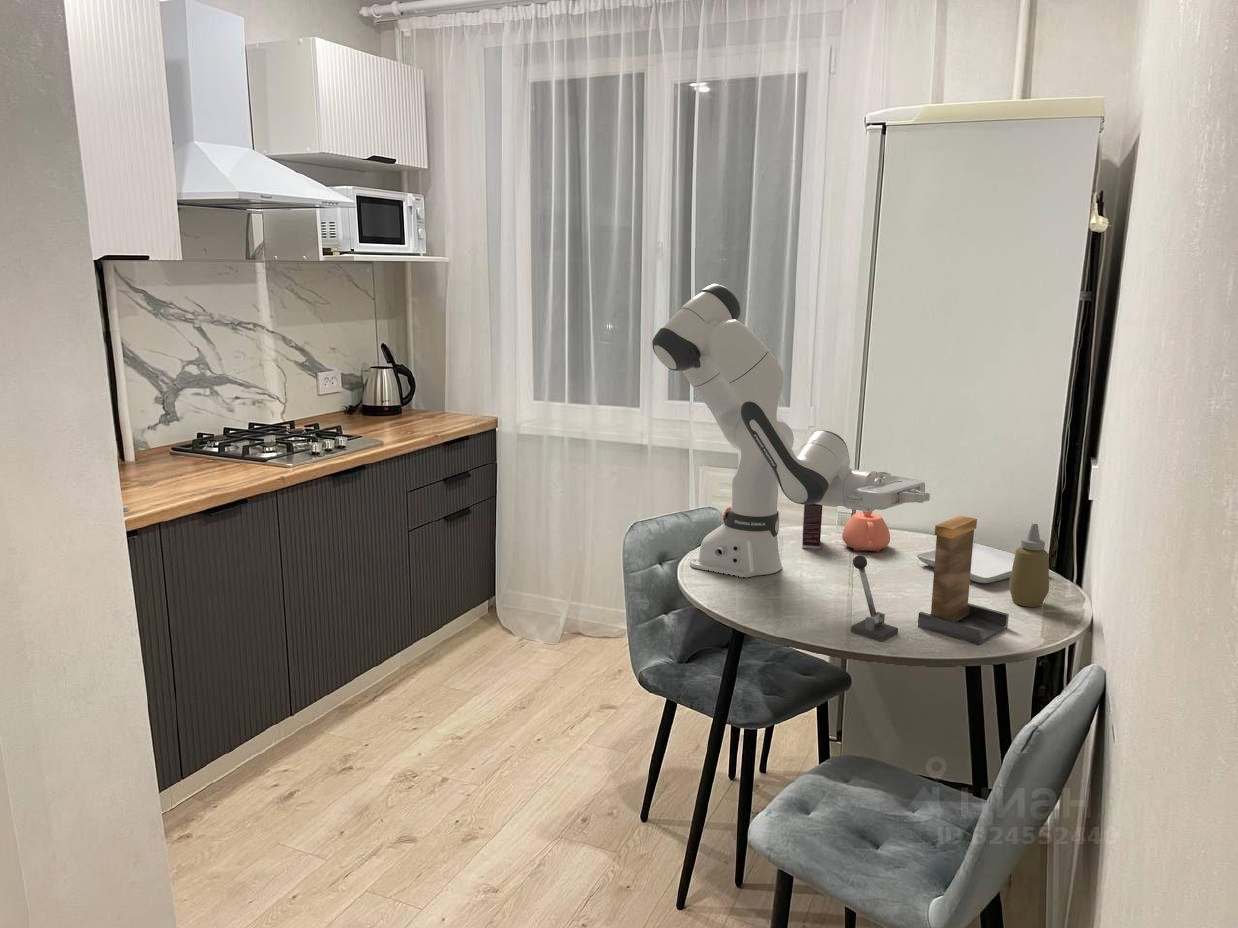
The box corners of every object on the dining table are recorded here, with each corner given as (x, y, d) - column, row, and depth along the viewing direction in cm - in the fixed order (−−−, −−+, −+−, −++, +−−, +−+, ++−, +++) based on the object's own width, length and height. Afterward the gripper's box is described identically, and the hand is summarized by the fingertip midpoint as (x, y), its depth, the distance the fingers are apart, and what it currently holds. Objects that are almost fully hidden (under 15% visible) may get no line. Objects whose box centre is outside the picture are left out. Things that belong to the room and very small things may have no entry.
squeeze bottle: (1002, 604, 194) (1009, 524, 190) (1013, 594, 200) (1020, 517, 196) (1041, 612, 189) (1049, 531, 185) (1052, 602, 195) (1060, 523, 191)
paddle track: (917, 626, 182) (918, 612, 181) (946, 610, 190) (948, 597, 190) (979, 645, 172) (980, 630, 172) (1007, 627, 181) (1008, 613, 180)
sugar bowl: (885, 541, 240) (887, 505, 238) (894, 557, 227) (897, 518, 225) (839, 540, 242) (840, 503, 240) (845, 555, 228) (847, 517, 226)
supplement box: (820, 549, 233) (823, 491, 230) (802, 548, 234) (804, 490, 231) (820, 540, 241) (822, 483, 238) (802, 539, 242) (804, 482, 239)
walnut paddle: (927, 622, 181) (934, 525, 177) (951, 609, 188) (959, 515, 184) (945, 627, 178) (953, 529, 174) (970, 614, 185) (978, 519, 181)
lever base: (850, 631, 179) (851, 614, 178) (866, 623, 183) (867, 607, 182) (881, 641, 174) (883, 624, 173) (897, 633, 178) (898, 616, 178)
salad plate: (913, 566, 221) (914, 552, 220) (970, 553, 231) (971, 540, 230) (985, 591, 203) (986, 577, 202) (1044, 576, 213) (1045, 562, 212)
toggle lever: (866, 627, 178) (848, 557, 179) (873, 623, 180) (856, 554, 181) (878, 626, 176) (860, 556, 177) (885, 623, 178) (867, 553, 179)
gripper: (841, 482, 185) (904, 489, 175) (887, 471, 199) (948, 477, 190) (840, 511, 186) (903, 520, 176) (887, 498, 200) (946, 506, 191)
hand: (926, 498), depth 183 cm, fingers closed
